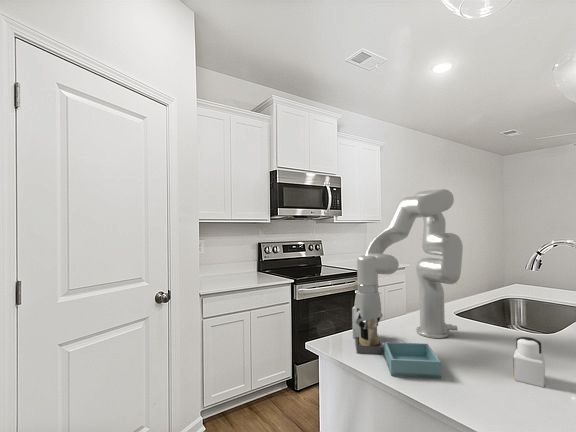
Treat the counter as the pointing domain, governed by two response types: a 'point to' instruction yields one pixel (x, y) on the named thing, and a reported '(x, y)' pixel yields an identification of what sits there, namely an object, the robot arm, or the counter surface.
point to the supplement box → (355, 327)
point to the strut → (370, 334)
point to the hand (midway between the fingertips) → (369, 336)
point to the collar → (369, 348)
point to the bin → (412, 360)
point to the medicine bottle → (529, 362)
